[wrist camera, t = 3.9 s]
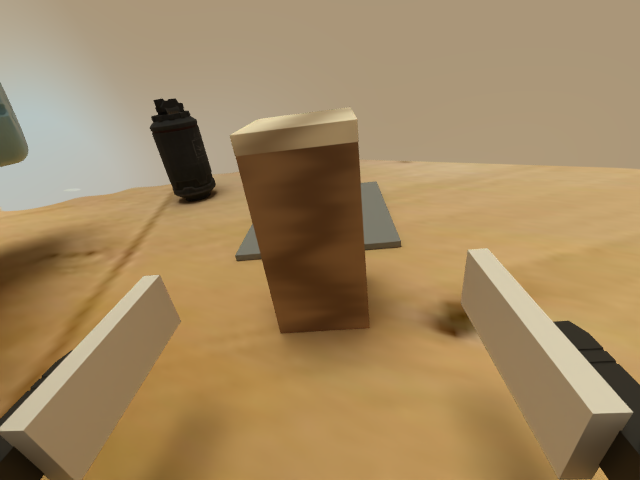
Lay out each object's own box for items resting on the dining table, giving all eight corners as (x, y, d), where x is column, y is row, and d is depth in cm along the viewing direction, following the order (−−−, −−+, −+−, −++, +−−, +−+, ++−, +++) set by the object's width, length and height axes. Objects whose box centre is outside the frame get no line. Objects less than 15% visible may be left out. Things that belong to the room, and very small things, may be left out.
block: (280, 333, 20) (229, 135, 14) (291, 280, 26) (257, 119, 20) (369, 328, 20) (357, 119, 14) (362, 274, 25) (350, 107, 19)
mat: (236, 260, 30) (235, 255, 29) (270, 196, 45) (269, 192, 45) (400, 246, 28) (400, 241, 28) (376, 185, 44) (376, 181, 44)
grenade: (211, 201, 47) (178, 96, 40) (170, 206, 47) (130, 102, 40) (223, 186, 53) (196, 93, 46) (187, 191, 53) (155, 99, 46)
